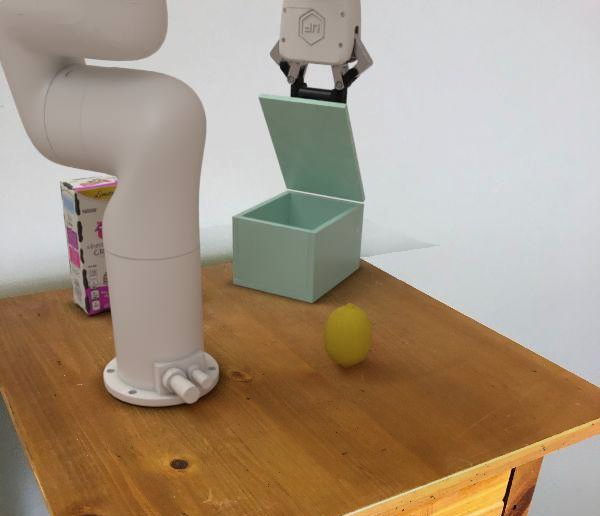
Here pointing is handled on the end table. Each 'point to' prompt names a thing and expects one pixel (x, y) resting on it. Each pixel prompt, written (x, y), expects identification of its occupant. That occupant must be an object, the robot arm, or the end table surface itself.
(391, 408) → the end table surface
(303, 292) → the green box
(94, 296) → the candy bar box
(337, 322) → the lemon
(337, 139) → the lid
